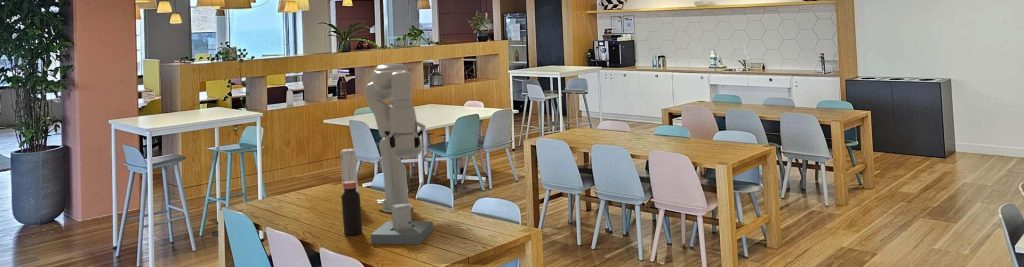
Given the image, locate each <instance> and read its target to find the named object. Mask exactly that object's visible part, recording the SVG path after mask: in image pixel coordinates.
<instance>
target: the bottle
mask: <svg viewBox="0 0 1024 267" xmlns="http://www.w3.org/2000/svg"><path fill="white" fill-rule="evenodd" d="M343 188H344V193H343V192H342V194H341V197H340V198H341V208H342V209H341V210H342V224H343V233H344V235H345V236H348V237H355V236H360V235H361V234H363V224H362V223H363V221H362V210H361V208H362V207H361V197H360V196H361V195H360V193H359V191H358V192H357V191H356V181H345V182H343V185H342V189H343Z"/></svg>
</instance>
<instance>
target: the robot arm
mask: <svg viewBox="0 0 1024 267" xmlns="http://www.w3.org/2000/svg"><path fill="white" fill-rule="evenodd" d="M408 70H409V69H408V68H407V66H406V65H405V64H403V63H391V64H388V63H387V64H380V65H378V66H377V67H376V68H374V71H373V73H372V76H371V77H372V78H371V80H372V81H371V82H370V83H368V84H366V86H365V87H364V97H365V101H366V103H367V107H368V108H369V110H370V111H371V112H372V114H373V115H374V117H375V118H374V119H375V122H376V127H377V130H378V133H379V136H380V137H381V139H380V141H379V144H378V146H379V151H380V155H381V156H380V157H381V160H382V169H383V170H382V171H383V172H382V173H383V184H384V194H385V195H384V196H385V199H376V204H377V206H382V208H381V209H382V212H384V213H391V214H392V205H397V204H404V203H406V204H409V205H411V210H412V209H413V204H411V203H409V193H408V191H409V190H408V180H407V179H408V178H407V168H406V166H405V163H403V162H402V160H400V159H401V158H402V159H403V158H409V157H410V158H411V157H417V156H419V155H420V154H421V153H422V149H423V146H422V140H421V136H422V134H423V133H424V132H425V129H426V128H427V127H426V125H425V124H424V123H421V122H418V121H417V114H416V109H415V106H413V99H412V98H413V96H412V95H413V94H412V77H411V73H409V71H408ZM385 101H388V103H387V102H385ZM391 106H392V107H391ZM418 127H419V128H420V130H418Z"/></svg>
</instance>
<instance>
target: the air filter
mask: <svg viewBox="0 0 1024 267" xmlns="http://www.w3.org/2000/svg"><path fill="white" fill-rule="evenodd" d="M339 155H340V157H339V158H340V168H341V170H340V171H341V181H342V182H341V183H342V186H343V182H345V181H356V191H357V192H358V193H359V186H358V182H359V181H358V173H357V171H358V170H357V158H356V156H357V155H356V151H355V149H354V148H346V149H342V150H341V151H340V153H339ZM343 193H344V188H343V187H342V194H343Z"/></svg>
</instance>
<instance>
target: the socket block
mask: <svg viewBox="0 0 1024 267" xmlns="http://www.w3.org/2000/svg"><path fill="white" fill-rule="evenodd" d="M411 221H412V220H411ZM432 232H434V221H428V220H427V221H425V220H424V221H416V220H415V221H414V220H413V221H412V228H411V229H410V230H409V231H393V222H392V220H390V221H389V220H388V221H386V222H385V223H383V224H382V225H380V226H379V227H378V228H377V229H376V230H374V231H373V232H372V233H371V234H370V244H371V245H420V244H422V242H423V241H424V240H425V239H426V238H427V237H428V236H430V235H431V234H432Z"/></svg>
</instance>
